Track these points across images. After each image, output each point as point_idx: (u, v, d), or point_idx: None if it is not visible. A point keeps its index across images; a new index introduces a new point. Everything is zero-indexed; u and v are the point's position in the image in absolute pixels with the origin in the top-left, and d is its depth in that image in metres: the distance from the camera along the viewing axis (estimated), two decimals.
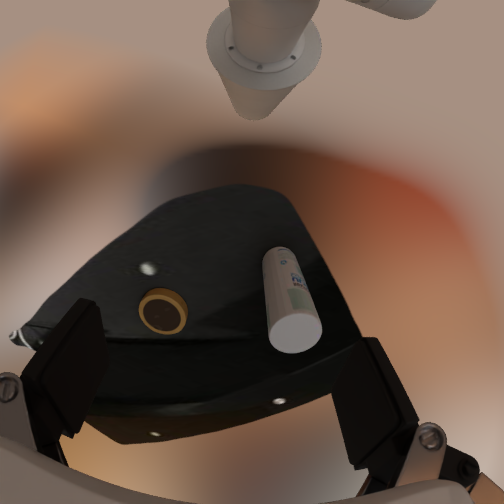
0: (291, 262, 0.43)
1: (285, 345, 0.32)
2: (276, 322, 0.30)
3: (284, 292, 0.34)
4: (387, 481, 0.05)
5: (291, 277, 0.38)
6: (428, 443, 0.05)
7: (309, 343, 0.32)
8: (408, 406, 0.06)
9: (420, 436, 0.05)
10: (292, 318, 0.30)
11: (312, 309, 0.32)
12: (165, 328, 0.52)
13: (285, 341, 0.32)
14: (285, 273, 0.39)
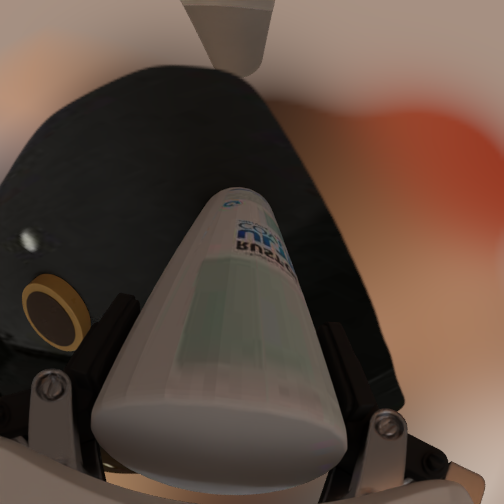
0: (253, 206, 0.17)
1: (183, 481, 0.06)
2: (95, 413, 0.04)
3: (189, 271, 0.08)
4: (352, 471, 0.06)
5: (239, 229, 0.12)
6: (387, 431, 0.05)
7: (285, 483, 0.06)
8: (364, 390, 0.06)
9: (376, 424, 0.05)
10: (169, 418, 0.04)
11: (305, 358, 0.06)
12: (59, 341, 0.26)
13: (177, 474, 0.05)
14: (223, 220, 0.13)
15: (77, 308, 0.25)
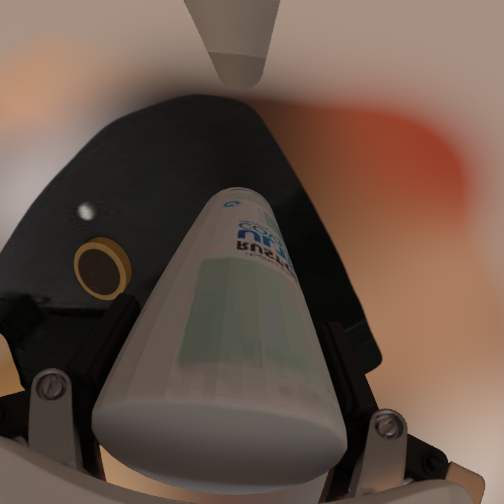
0: (253, 206, 0.17)
1: (184, 481, 0.06)
2: (96, 413, 0.04)
3: (189, 271, 0.08)
4: (352, 471, 0.06)
5: (239, 229, 0.12)
6: (387, 431, 0.05)
7: (285, 483, 0.06)
8: (364, 390, 0.06)
9: (376, 424, 0.05)
10: (169, 418, 0.04)
11: (305, 358, 0.06)
12: (103, 291, 0.38)
13: (177, 474, 0.05)
14: (223, 220, 0.13)
15: (124, 261, 0.38)
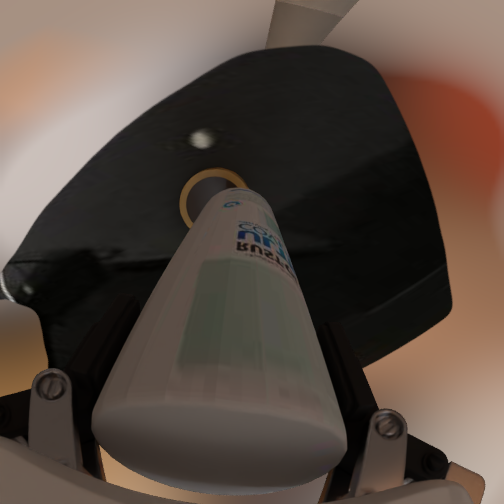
0: (253, 206, 0.17)
1: (184, 482, 0.06)
2: (96, 415, 0.04)
3: (189, 272, 0.08)
4: (352, 471, 0.06)
5: (239, 230, 0.12)
6: (386, 431, 0.05)
7: (285, 484, 0.06)
8: (364, 390, 0.06)
9: (376, 424, 0.05)
10: (169, 420, 0.04)
11: (305, 360, 0.06)
12: None
13: (177, 475, 0.05)
14: (223, 221, 0.13)
15: None
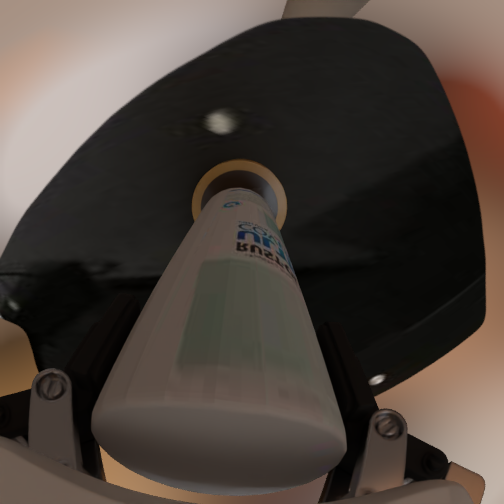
0: (253, 206, 0.17)
1: (183, 482, 0.06)
2: (95, 415, 0.04)
3: (188, 272, 0.08)
4: (352, 471, 0.06)
5: (238, 230, 0.12)
6: (387, 431, 0.05)
7: (284, 484, 0.06)
8: (364, 390, 0.06)
9: (376, 424, 0.05)
10: (168, 420, 0.04)
11: (304, 360, 0.06)
12: None
13: (177, 475, 0.05)
14: (223, 221, 0.13)
15: None
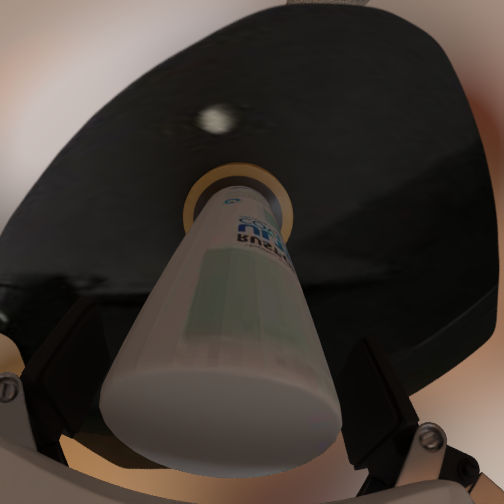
0: (253, 203, 0.17)
1: (186, 463, 0.06)
2: (105, 389, 0.05)
3: (193, 260, 0.09)
4: (387, 481, 0.05)
5: (239, 223, 0.12)
6: (428, 443, 0.05)
7: (284, 464, 0.06)
8: (408, 406, 0.06)
9: (420, 436, 0.05)
10: (175, 388, 0.05)
11: (300, 336, 0.06)
12: None
13: (180, 454, 0.06)
14: (224, 216, 0.13)
15: None
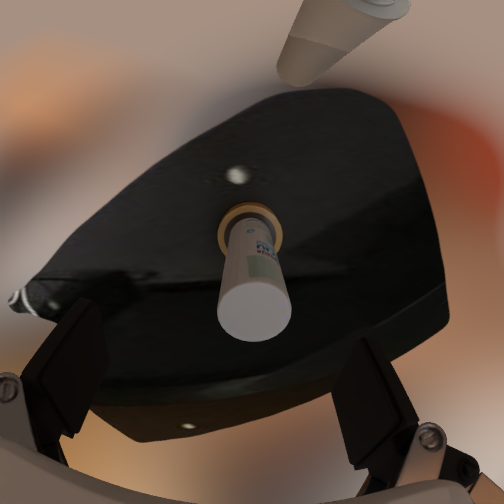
0: (260, 231, 0.35)
1: (241, 329, 0.24)
2: (225, 293, 0.22)
3: (243, 259, 0.26)
4: (387, 481, 0.05)
5: (256, 244, 0.30)
6: (428, 443, 0.05)
7: (274, 329, 0.24)
8: (408, 406, 0.06)
9: (420, 436, 0.05)
10: (247, 289, 0.22)
11: (278, 280, 0.24)
12: None
13: (240, 323, 0.23)
14: (249, 240, 0.31)
15: None
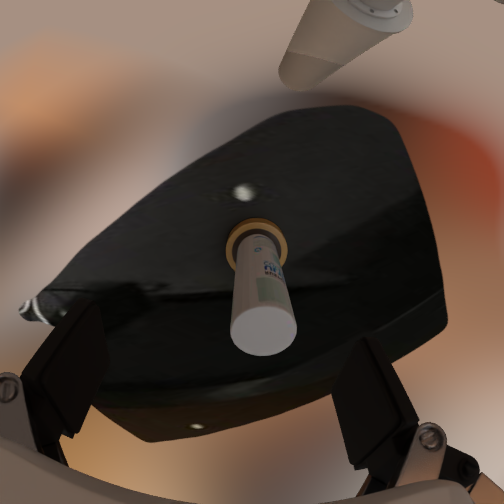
0: (267, 250, 0.37)
1: (251, 346, 0.26)
2: (238, 316, 0.25)
3: (252, 281, 0.29)
4: (387, 481, 0.05)
5: (264, 265, 0.32)
6: (428, 443, 0.05)
7: (281, 345, 0.26)
8: (408, 406, 0.06)
9: (420, 436, 0.05)
10: (258, 312, 0.25)
11: (284, 302, 0.26)
12: None
13: (251, 340, 0.26)
14: (257, 261, 0.33)
15: None
